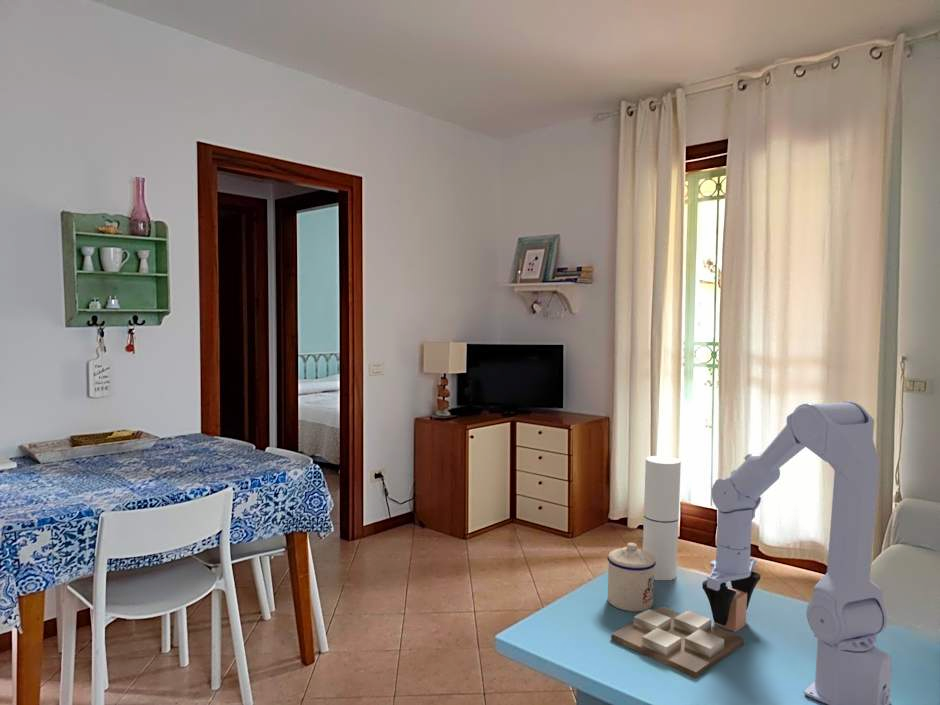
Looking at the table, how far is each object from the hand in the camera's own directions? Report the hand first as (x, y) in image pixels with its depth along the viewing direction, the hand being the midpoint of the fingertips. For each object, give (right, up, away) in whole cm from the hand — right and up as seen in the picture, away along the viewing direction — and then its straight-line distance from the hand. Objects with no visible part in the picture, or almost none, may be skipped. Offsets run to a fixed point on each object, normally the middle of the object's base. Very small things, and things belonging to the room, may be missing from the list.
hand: (730, 616), depth 123 cm
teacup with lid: (-16, -1, +10) cm, 19 cm away
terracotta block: (0, -2, 0) cm, 2 cm away
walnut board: (-12, -2, -6) cm, 13 cm away
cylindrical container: (-7, 0, +22) cm, 23 cm away
